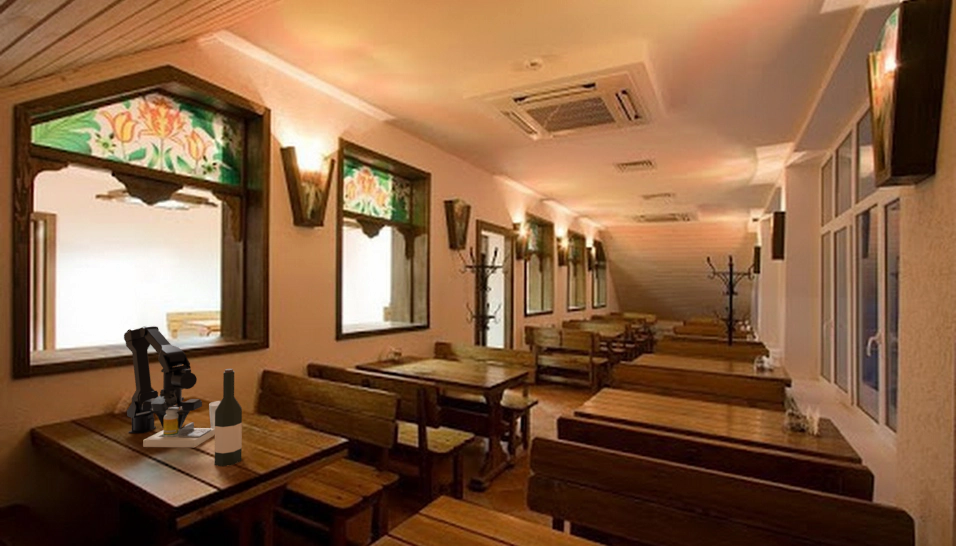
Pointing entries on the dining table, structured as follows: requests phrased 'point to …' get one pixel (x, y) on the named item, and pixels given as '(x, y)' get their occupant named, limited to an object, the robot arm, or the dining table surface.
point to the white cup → (213, 412)
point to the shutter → (191, 431)
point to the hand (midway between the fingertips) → (172, 428)
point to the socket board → (176, 440)
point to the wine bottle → (228, 425)
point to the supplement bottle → (171, 422)
